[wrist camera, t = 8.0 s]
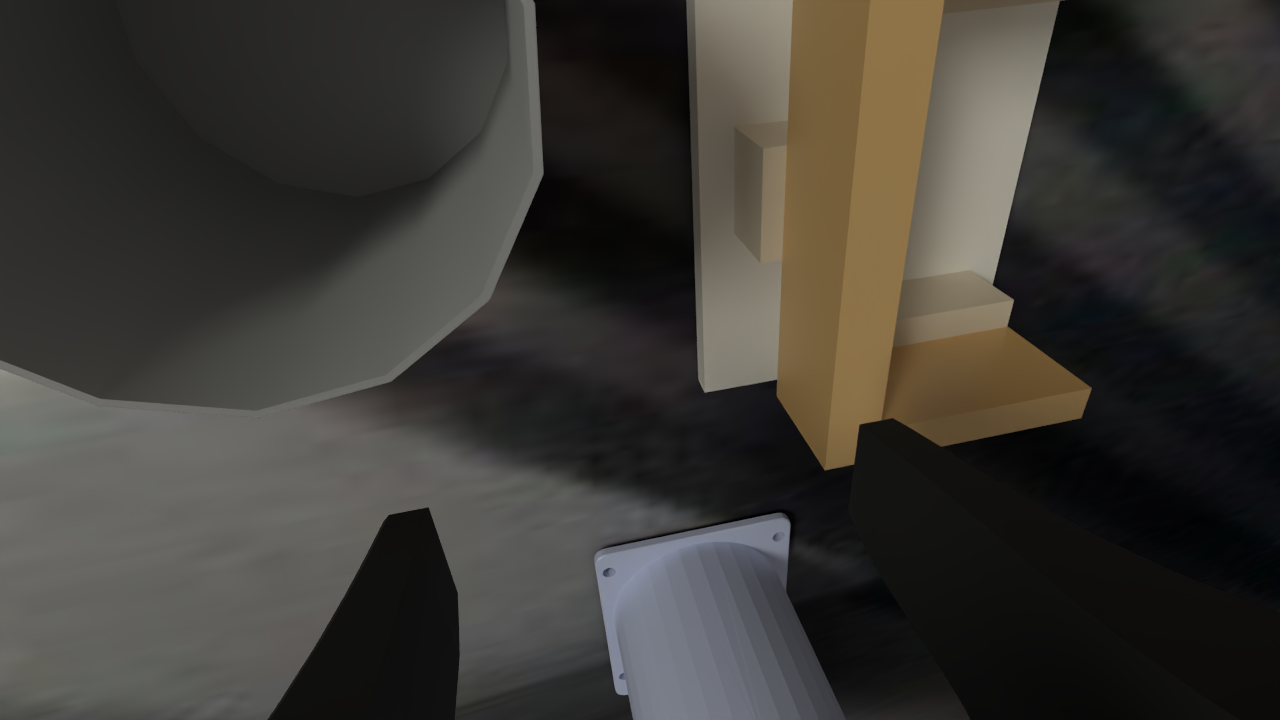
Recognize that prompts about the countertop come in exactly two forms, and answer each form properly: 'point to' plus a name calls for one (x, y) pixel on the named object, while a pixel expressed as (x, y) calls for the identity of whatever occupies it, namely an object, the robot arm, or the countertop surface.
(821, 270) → the tan u-shaped clamp
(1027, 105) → the display stand
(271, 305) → the cup
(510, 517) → the countertop surface
